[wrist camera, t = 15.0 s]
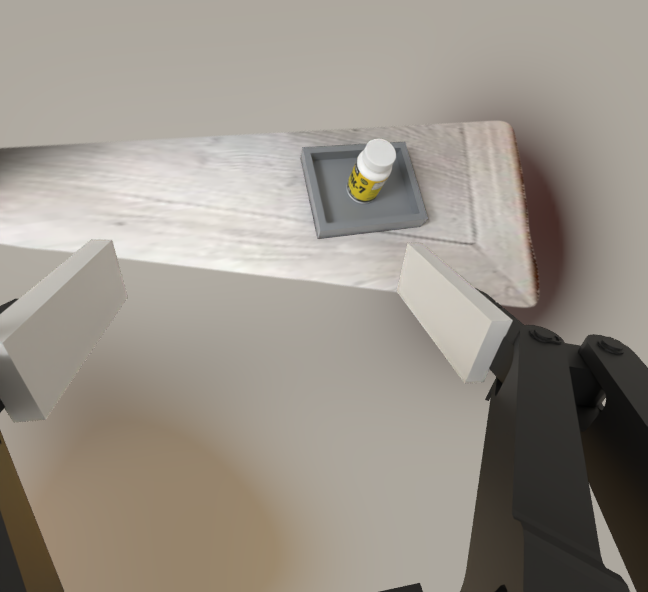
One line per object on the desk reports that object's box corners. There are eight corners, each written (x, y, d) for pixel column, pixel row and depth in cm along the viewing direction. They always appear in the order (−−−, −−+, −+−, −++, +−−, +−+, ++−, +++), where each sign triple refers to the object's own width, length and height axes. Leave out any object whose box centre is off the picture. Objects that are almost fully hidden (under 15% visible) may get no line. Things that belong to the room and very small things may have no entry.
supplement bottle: (340, 182, 46) (355, 142, 38) (366, 171, 47) (386, 130, 39) (356, 209, 45) (375, 174, 37) (382, 197, 47) (406, 160, 39)
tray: (317, 238, 44) (320, 231, 42) (300, 159, 47) (302, 147, 44) (420, 226, 48) (428, 218, 45) (398, 152, 50) (405, 141, 48)
